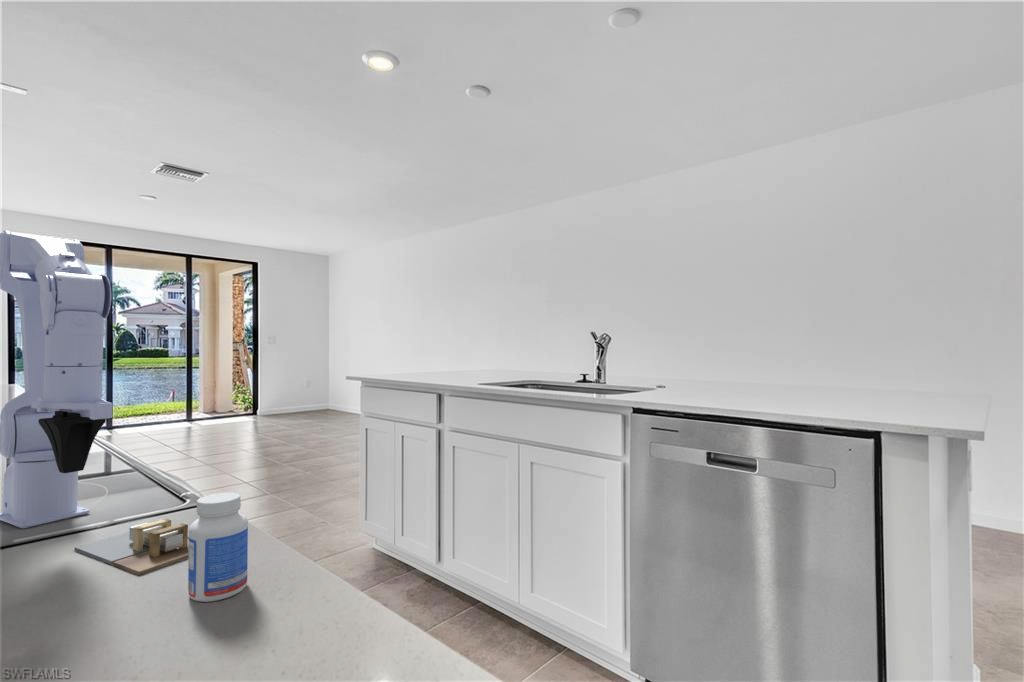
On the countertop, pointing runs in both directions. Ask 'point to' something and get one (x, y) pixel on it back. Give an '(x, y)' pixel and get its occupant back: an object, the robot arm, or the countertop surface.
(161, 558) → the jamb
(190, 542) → the pill bottle
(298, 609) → the countertop surface
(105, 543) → the door
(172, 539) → the bolt
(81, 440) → the robot arm
